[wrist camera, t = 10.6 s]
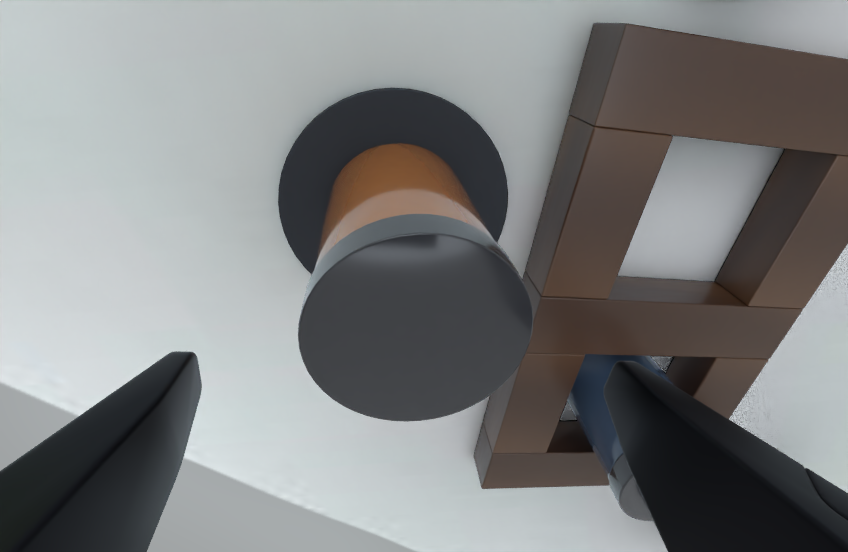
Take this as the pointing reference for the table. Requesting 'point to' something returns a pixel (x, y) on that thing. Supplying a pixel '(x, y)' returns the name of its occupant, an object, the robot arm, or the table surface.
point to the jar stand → (618, 218)
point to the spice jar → (608, 427)
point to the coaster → (378, 125)
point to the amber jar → (410, 292)
